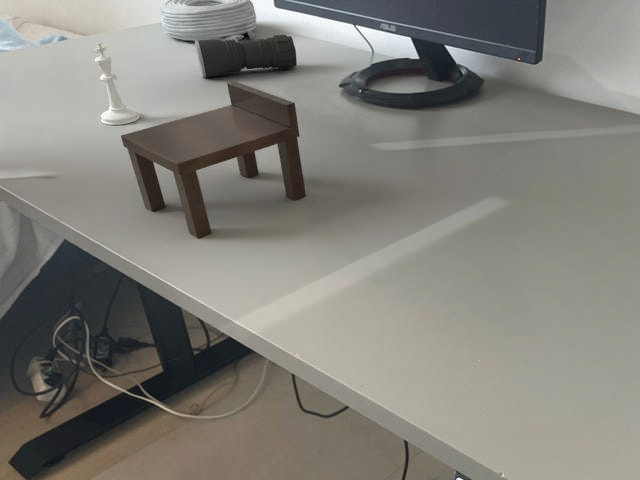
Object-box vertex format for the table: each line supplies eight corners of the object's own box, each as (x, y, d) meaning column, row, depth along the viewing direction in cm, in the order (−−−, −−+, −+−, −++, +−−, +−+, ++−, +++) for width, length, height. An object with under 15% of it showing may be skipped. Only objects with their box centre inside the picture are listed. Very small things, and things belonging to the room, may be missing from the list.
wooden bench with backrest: (197, 240, 72) (170, 138, 66) (142, 207, 78) (112, 111, 71) (308, 196, 80) (294, 102, 74) (251, 169, 86) (234, 80, 80)
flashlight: (294, 63, 122) (289, 29, 119) (301, 71, 118) (296, 36, 115) (200, 72, 118) (193, 37, 114) (204, 81, 114) (196, 45, 110)
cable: (257, 42, 133) (251, 7, 129) (158, 47, 130) (148, 11, 126) (259, 21, 146) (254, -12, 142) (170, 25, 143) (162, -9, 139)
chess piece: (147, 115, 101) (126, 40, 95) (122, 127, 97) (99, 49, 91) (119, 111, 102) (96, 36, 96) (93, 122, 99) (68, 45, 92)
